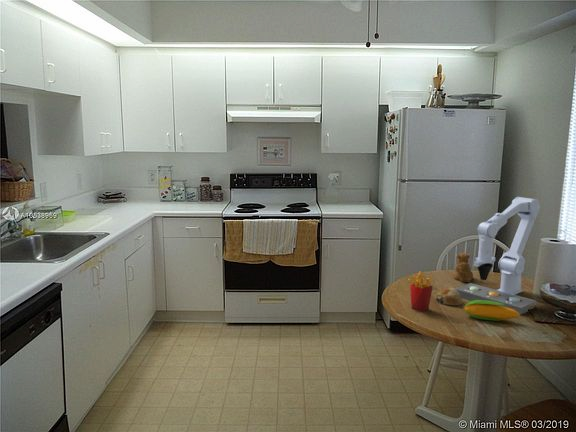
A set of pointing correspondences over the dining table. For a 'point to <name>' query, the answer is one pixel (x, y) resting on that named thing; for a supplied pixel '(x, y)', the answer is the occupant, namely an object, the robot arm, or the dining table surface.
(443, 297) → the bread roll
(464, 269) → the stuffed squirrel
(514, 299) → the blue button
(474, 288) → the green button
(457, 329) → the dining table surface
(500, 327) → the dining table surface
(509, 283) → the robot arm
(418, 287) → the french fries
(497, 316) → the corn
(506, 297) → the button console
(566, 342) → the dining table surface
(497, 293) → the orange button
